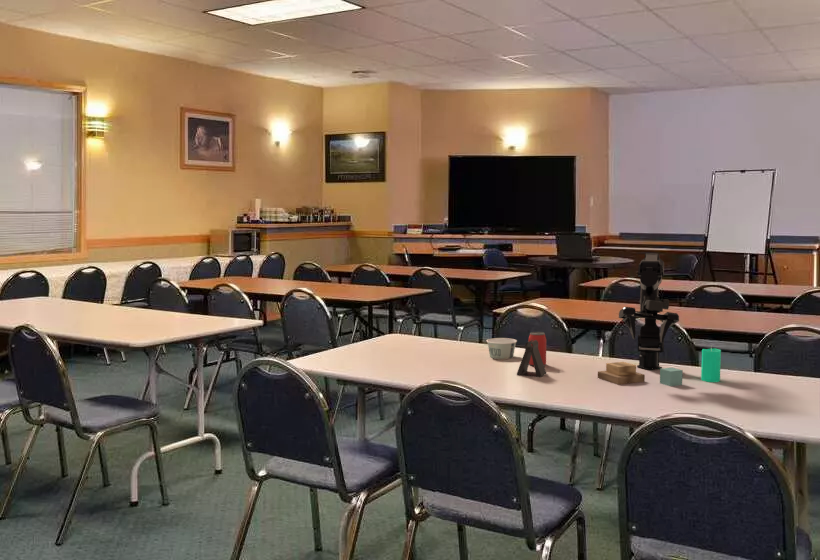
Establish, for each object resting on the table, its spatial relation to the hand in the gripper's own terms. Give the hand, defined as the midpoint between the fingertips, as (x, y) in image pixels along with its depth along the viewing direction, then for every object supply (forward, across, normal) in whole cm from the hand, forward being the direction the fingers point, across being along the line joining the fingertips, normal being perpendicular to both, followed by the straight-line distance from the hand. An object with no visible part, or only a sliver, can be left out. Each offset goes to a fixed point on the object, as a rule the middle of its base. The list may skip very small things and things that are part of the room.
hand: (647, 340), depth 261 cm
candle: (+9, +24, +8) cm, 27 cm away
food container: (0, -41, +52) cm, 67 cm away
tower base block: (+13, -5, +11) cm, 17 cm away
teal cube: (+13, +9, +4) cm, 16 cm away
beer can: (+5, -30, +36) cm, 47 cm away
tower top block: (+10, -6, +10) cm, 15 cm away
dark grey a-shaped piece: (+12, -34, +21) cm, 42 cm away
